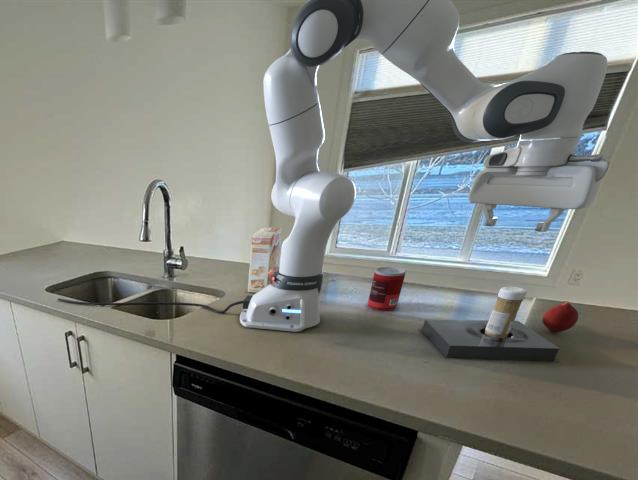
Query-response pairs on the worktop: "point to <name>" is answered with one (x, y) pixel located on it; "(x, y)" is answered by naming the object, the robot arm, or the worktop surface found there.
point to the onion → (560, 317)
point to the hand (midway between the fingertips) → (513, 228)
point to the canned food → (386, 288)
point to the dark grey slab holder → (487, 341)
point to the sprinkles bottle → (504, 311)
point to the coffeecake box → (263, 257)
